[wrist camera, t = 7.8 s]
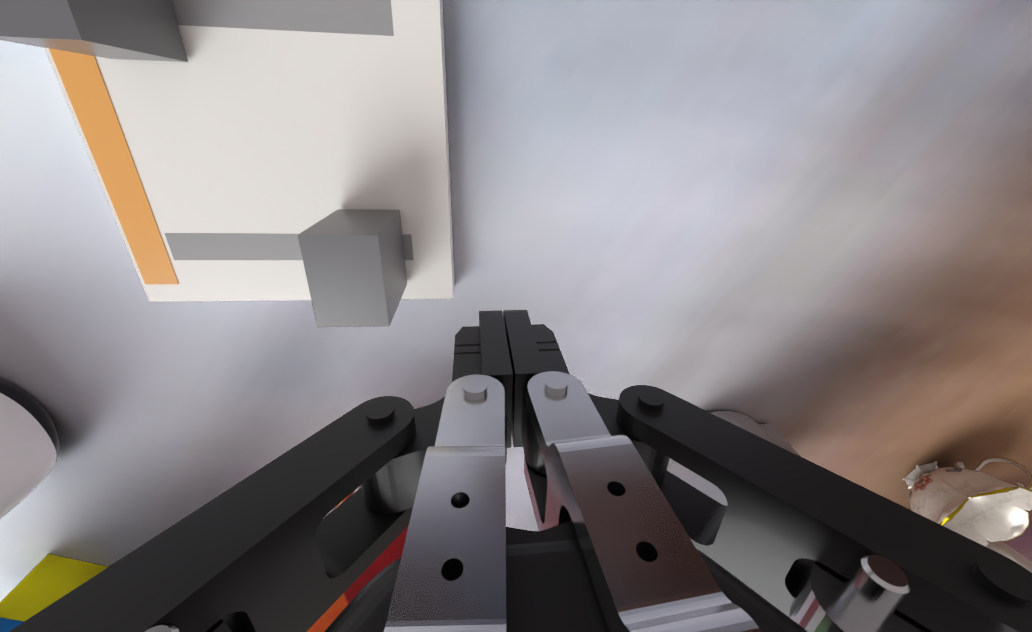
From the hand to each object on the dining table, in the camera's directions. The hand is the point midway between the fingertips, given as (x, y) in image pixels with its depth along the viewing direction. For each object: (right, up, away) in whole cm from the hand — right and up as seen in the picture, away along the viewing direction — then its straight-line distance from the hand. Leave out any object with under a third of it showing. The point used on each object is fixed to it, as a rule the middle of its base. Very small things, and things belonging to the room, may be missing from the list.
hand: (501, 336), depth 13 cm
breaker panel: (-11, +10, +7) cm, 16 cm away
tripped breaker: (-7, +4, +8) cm, 11 cm away
